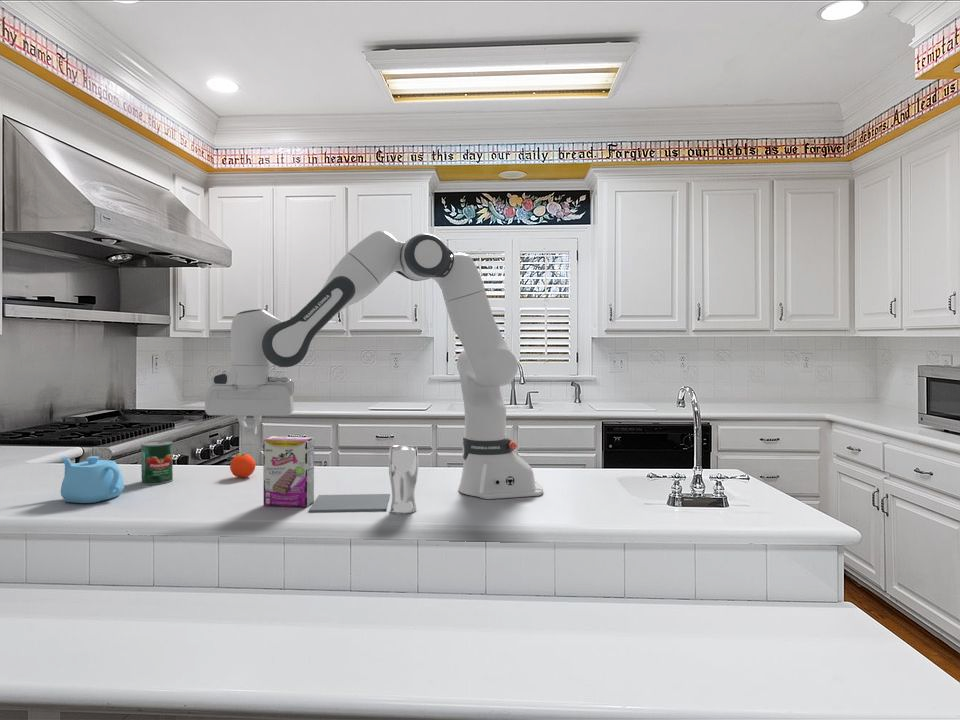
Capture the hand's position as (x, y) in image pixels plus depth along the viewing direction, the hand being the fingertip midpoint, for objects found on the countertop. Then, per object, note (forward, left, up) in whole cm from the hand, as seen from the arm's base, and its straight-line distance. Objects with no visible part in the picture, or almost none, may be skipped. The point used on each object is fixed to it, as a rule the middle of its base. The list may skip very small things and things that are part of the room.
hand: (249, 433), depth 153 cm
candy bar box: (-9, 0, -18) cm, 20 cm away
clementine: (+11, -31, -18) cm, 37 cm away
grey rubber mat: (-24, 0, -17) cm, 30 cm away
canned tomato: (+33, -27, -18) cm, 46 cm away
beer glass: (-37, +7, -18) cm, 42 cm away
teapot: (+42, -9, -18) cm, 46 cm away
